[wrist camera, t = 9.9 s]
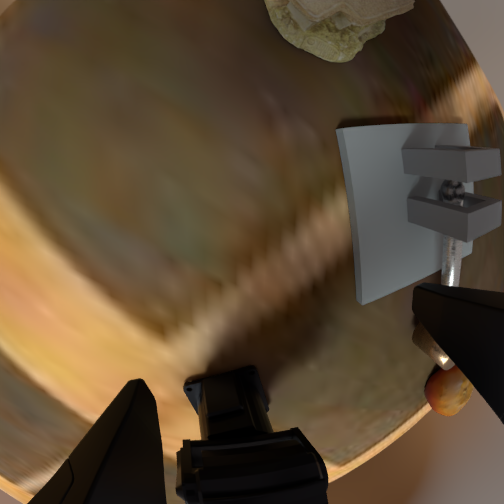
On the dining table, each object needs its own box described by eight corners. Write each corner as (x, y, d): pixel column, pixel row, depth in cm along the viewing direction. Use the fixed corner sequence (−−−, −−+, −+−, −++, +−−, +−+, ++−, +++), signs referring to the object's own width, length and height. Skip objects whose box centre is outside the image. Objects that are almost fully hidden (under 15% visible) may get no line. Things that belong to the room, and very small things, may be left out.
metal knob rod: (433, 335, 26) (462, 359, 21) (410, 349, 25) (439, 376, 20) (441, 171, 20) (486, 178, 15) (415, 176, 19) (464, 184, 14)
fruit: (413, 417, 31) (448, 429, 24) (410, 372, 33) (448, 378, 25) (447, 396, 33) (481, 402, 25) (445, 353, 34) (481, 354, 27)
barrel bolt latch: (465, 250, 25) (514, 272, 18) (356, 300, 23) (410, 346, 16) (460, 123, 20) (517, 125, 13) (335, 129, 18) (406, 118, 11)
